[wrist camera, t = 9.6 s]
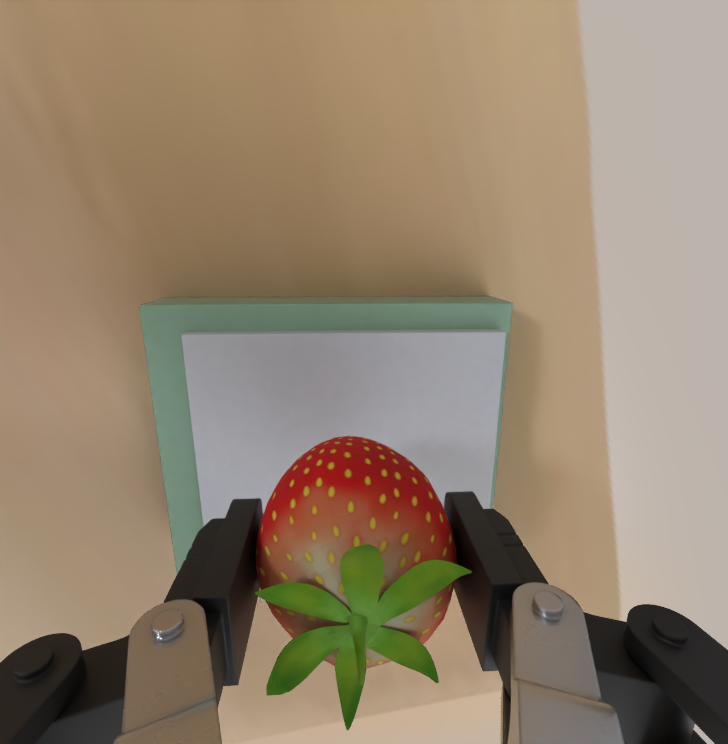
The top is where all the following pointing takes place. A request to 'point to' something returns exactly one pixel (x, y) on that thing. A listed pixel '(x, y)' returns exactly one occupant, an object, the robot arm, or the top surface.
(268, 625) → the top surface
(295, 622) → the fruit
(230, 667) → the robot arm
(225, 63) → the top surface
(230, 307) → the scale
